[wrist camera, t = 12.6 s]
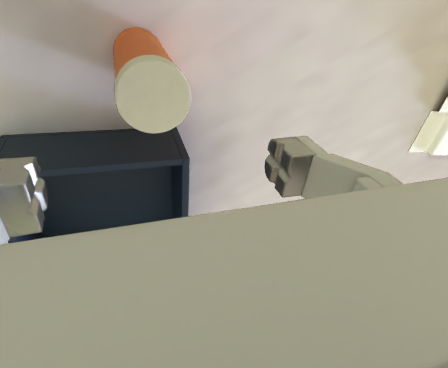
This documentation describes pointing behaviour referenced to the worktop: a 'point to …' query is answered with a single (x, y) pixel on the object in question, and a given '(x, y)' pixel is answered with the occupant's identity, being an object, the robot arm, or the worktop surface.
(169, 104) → the tube
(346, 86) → the worktop surface
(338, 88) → the worktop surface
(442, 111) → the tray
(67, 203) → the basket
